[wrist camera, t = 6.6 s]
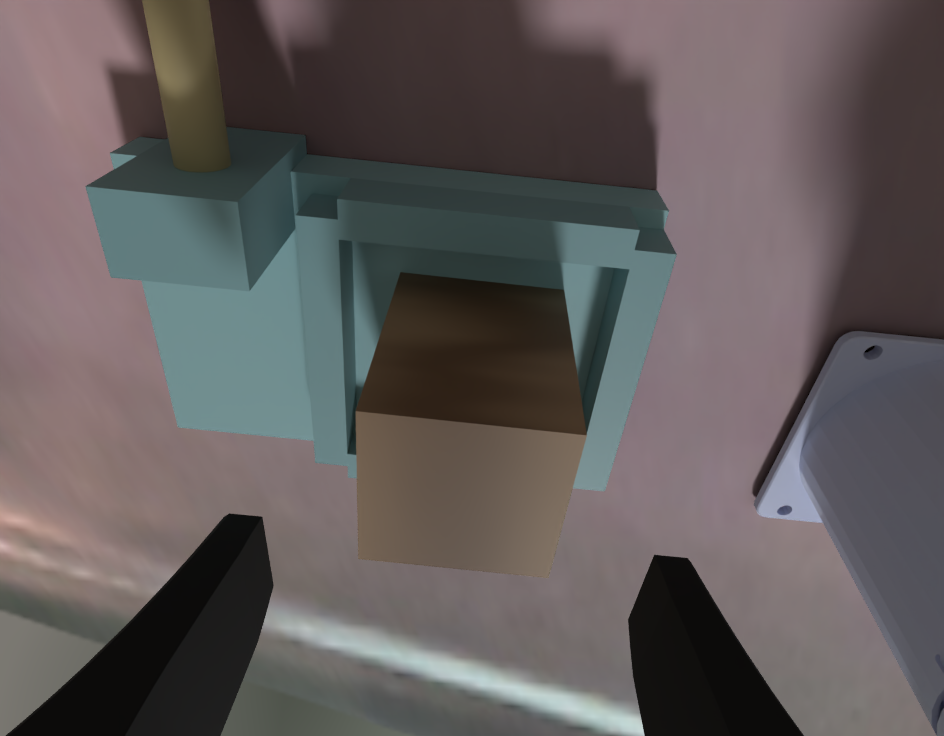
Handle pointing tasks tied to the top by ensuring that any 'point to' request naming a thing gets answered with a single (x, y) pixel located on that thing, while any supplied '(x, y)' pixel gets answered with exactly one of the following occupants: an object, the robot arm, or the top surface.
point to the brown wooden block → (469, 427)
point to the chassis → (349, 260)
